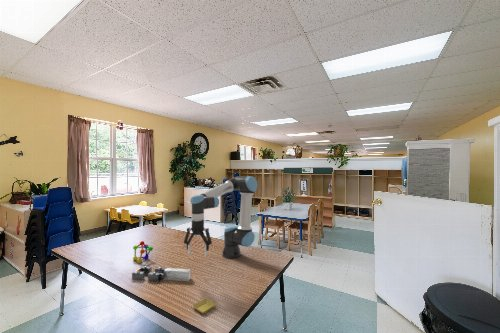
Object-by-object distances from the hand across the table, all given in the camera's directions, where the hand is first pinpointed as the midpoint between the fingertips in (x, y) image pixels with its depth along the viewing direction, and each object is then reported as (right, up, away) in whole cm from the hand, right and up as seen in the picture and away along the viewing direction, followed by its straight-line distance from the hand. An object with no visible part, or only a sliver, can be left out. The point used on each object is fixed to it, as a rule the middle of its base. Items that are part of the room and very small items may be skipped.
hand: (197, 255), depth 138 cm
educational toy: (-51, -17, +32) cm, 62 cm away
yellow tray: (+10, -16, -28) cm, 34 cm away
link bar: (-13, -16, +1) cm, 21 cm away
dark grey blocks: (-31, -16, +4) cm, 35 cm away
